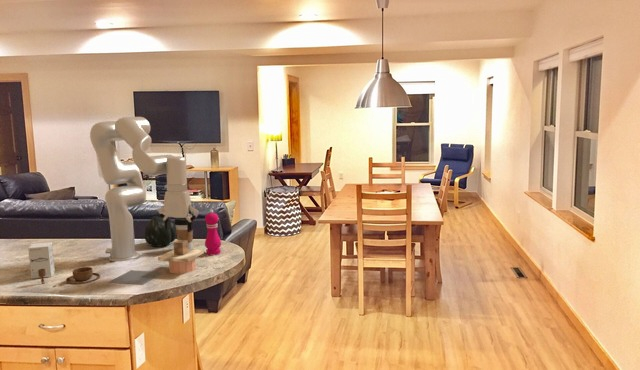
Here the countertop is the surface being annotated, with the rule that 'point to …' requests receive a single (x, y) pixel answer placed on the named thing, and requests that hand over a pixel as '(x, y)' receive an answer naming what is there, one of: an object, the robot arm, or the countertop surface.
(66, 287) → the countertop surface
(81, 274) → the place setting
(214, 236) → the pepper mill
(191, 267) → the bowl
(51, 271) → the supplement box
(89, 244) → the countertop surface
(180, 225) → the coffee cup
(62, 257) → the countertop surface
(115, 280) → the tray
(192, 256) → the lid
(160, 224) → the squash
